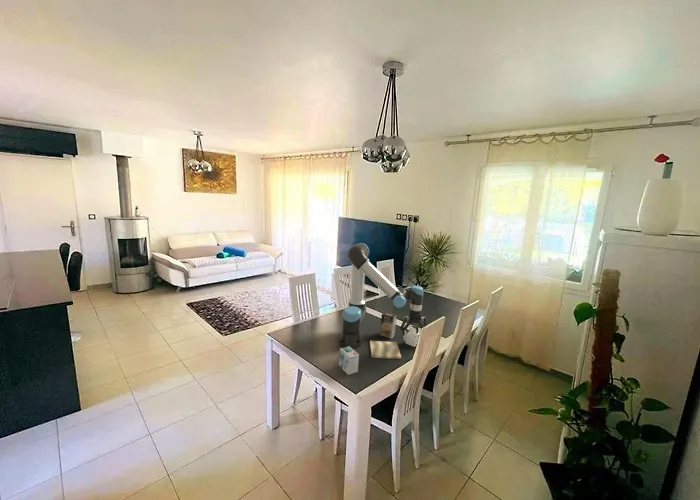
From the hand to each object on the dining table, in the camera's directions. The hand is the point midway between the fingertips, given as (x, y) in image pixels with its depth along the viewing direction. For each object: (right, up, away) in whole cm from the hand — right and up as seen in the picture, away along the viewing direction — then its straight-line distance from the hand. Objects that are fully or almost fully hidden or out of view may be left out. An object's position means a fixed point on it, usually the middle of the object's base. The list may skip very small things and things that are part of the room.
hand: (412, 340), depth 201 cm
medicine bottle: (0, -3, +1) cm, 3 cm away
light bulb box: (-43, -7, -32) cm, 54 cm away
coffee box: (-16, 0, +10) cm, 19 cm away
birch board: (-20, -4, -10) cm, 23 cm away
